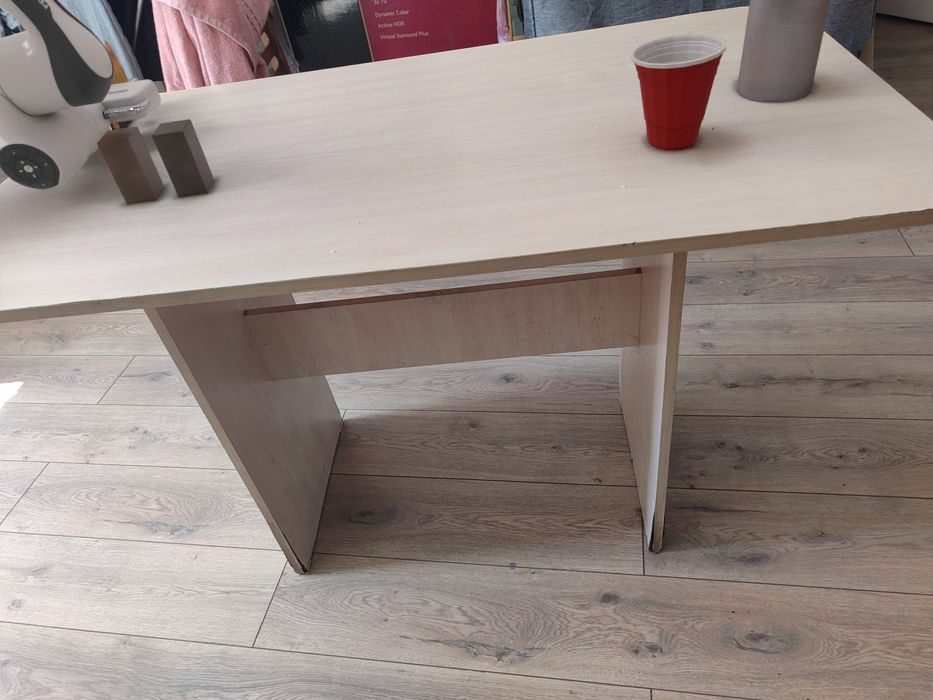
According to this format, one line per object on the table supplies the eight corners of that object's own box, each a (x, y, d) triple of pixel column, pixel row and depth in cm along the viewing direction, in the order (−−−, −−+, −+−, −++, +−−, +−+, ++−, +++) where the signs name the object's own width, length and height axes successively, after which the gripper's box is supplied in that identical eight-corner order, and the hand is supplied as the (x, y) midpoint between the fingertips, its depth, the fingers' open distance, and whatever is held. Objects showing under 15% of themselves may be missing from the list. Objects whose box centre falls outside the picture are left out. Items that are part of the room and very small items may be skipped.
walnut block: (128, 207, 90) (96, 143, 84) (137, 193, 93) (107, 130, 87) (157, 203, 90) (127, 138, 84) (165, 189, 93) (137, 126, 87)
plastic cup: (640, 122, 92) (645, 28, 84) (723, 129, 87) (737, 31, 79) (614, 157, 85) (617, 58, 77) (703, 167, 80) (715, 63, 72)
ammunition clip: (125, 133, 111) (90, 58, 104) (113, 135, 111) (78, 60, 104) (143, 109, 119) (112, 37, 112) (133, 110, 120) (101, 39, 112)
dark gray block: (179, 200, 90) (151, 135, 84) (187, 186, 93) (160, 123, 87) (208, 196, 90) (182, 131, 84) (215, 182, 93) (190, 118, 87)
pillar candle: (775, 72, 99) (796, -44, 90) (827, 91, 92) (856, -32, 82) (721, 88, 97) (736, -28, 87) (770, 109, 90) (793, -15, 80)
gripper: (134, 89, 97) (161, 58, 107) (-5, 109, 97) (35, 76, 108) (153, 131, 101) (177, 97, 111) (19, 150, 101) (56, 115, 112)
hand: (106, 87), depth 109 cm, fingers open, 8 cm apart
